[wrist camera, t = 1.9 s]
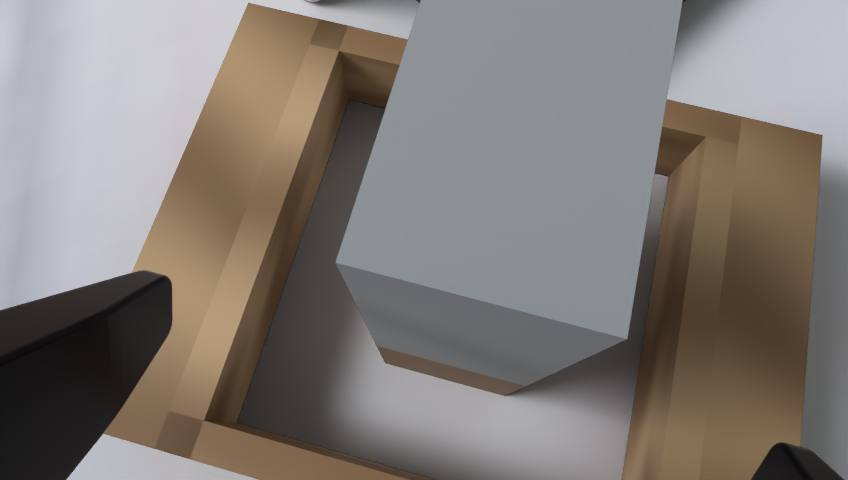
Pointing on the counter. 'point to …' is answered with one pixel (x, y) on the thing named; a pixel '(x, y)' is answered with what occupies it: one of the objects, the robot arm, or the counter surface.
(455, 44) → the box
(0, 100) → the counter surface
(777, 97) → the counter surface
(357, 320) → the counter surface
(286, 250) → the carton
